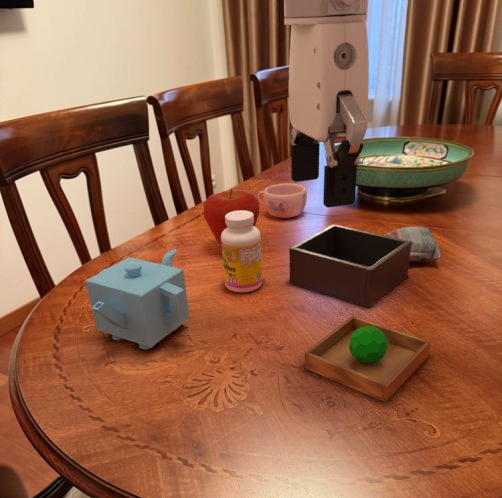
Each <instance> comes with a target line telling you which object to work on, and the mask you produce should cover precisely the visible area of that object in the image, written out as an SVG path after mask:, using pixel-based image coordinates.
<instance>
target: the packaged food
mask: <svg viewBox="0 0 502 498" xmlns="http://www.w3.org/2000/svg"><path fill="white" fill-rule="evenodd" d="M432 233H433V232H432V229H431V228H428V227H423V226H405V227H402V228H397V229H394V230H391V231H390V232H389V231H388V232H387V233H384V234H383V235H384V236H388V237H393V238H397V239H401V240H406V241H410V242H412V244H411V252H410V260H409V262H416V263H417V262H418V263H430V262H431V263H432V262H435V261H437V260H439V259H441V258H442V254H441V251H440V246H439V244H438V242H437V241H436V240H435V237H434V235H433V234H432Z"/></svg>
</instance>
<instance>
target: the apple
mask: <svg viewBox="0 0 502 498" xmlns="http://www.w3.org/2000/svg"><path fill="white" fill-rule="evenodd" d="M240 210H244V211H250V212H252V213H253V215H254V222H253V226H254V227H256V224H257V220H258V218H259V215H260V203H259V199H258V198H257V196H256V194H255V193H253V192H252V191H251V190H245V189H237V190H235V189H232V188H230V190H224V191H220V192H216V193H213V194H211V195H210V196H208V197H207V199H206V200H205V201H204V203H203V218H204V220H205V221H206V223H207V226H208V227H209V229H210V231H211V233H212V234H213V236H214V238H215V240H216V242H217V243H218V244H220V246H222V243H221V234H222V232H223V231H224V230H225V229H226V228H227V225H226V223H225V215H226V214H228V213H230V212H233V211H240Z"/></svg>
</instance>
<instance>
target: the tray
mask: <svg viewBox="0 0 502 498" xmlns="http://www.w3.org/2000/svg"><path fill="white" fill-rule="evenodd" d="M369 326H373V327H375V328H377V329H379V330H380V331H381V332H383V333H384V334H385V336H386V339H387V341H388V346H387V350H386V353H385V355H384V357H383V358H381V359H380V360H379V361H378V362H370V363H361V362H360V361H358V360H357V359H355V358H354V357H353V356H352V355H351V352H350V350H349V343H350V339H351V336H352V333H353V332H354V331H356V330H357V329H358V328H361V327H369ZM430 347H431V341H429V340H426V339H423V338H421V337H418V336H414V335H412V334H409V333H405V332H403V331H399V330H398V329H397V330H396V329H393V328H390V327H387V326H384V325H382V324H378V323H375V322H372V321H369V320H366V319H364V318H361V317H358V316H354V315H351V316H349V317H348V318H347V319H346V320H345V321H344V322H342V323H341V324H339V326H337V327H336V328H335V329H333V330H332V331H331V332H329V333H328V334H327V335H326V336H324V337H323V338H321V339H320V340H319V341H318V342H317V343H316V344H314V345H313V346H312V347H310V348H309V349H308V350H306V351H305V352H304V369H305V370H308V371H310V372H313V373H315V374H318V375H319V376H321V377H324V378H327V379H329V380H331V381H334V382H336V383H338V384H341V385H343V386H344V387H345V386H346V387H347V388H350V389H353V390H355V391H357V392H360V393H361V394H364V395H367V396H369V397H371V398H374V399H376V400H378V401H380V402H383V403H387V402H388V401H389V399H391V397H392V396H394V394H395V393H396V392H397V391H398V390H399V389H400V388H401V387H402V386H403V384H404V383H405V382H407V380H409V379H410V377H411V376H412V375H413V374H414V373H415V372H416V371H417V370H418V369H419V367H421V365H423V364H424V362H425V361H426V360H427V359H428V358H429V355H430Z"/></svg>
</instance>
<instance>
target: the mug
mask: <svg viewBox="0 0 502 498" xmlns="http://www.w3.org/2000/svg"><path fill="white" fill-rule="evenodd" d="M307 193H308V192H307V189H306V188H305V187H304V186H303V185H301V184H297V183H277V184H272V185H269V186H267V187H266V188H265V189H264V190H259V191H258V193H257V196H256V197H257V198H258V199H259V205H261V206H264V207H265V209H266V210H265V211H266V212H267V213H268V214H269V215H270V216H272V217H275V218H282V219H283V218H284V219H285V218H286V219H287V218H293V217H297V216H299V215H301V214H302V213H303V211H304V209H305V207H306V205H307V200H308V195H307ZM262 196H263V197H262ZM262 199H263V201H262Z"/></svg>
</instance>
